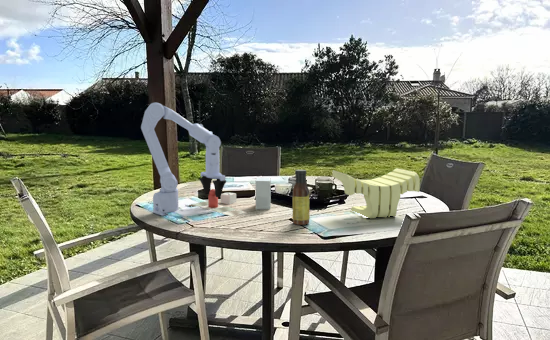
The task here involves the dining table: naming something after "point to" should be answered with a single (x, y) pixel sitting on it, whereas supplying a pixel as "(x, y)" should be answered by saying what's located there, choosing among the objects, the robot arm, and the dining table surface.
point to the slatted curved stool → (380, 191)
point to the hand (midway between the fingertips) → (212, 195)
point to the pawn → (212, 199)
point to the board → (220, 209)
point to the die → (228, 198)
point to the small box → (263, 193)
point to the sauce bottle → (301, 199)
